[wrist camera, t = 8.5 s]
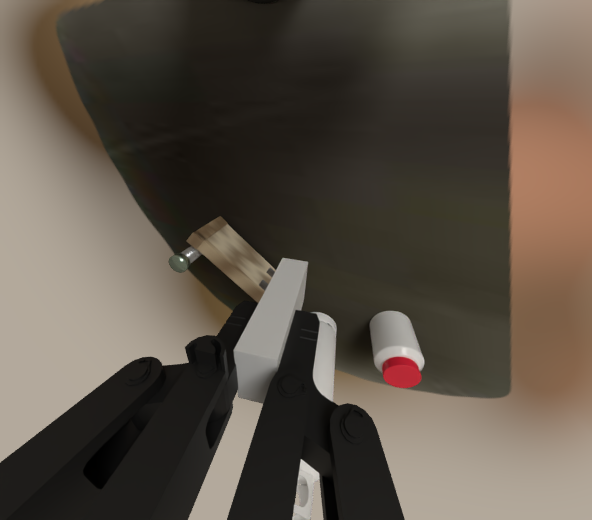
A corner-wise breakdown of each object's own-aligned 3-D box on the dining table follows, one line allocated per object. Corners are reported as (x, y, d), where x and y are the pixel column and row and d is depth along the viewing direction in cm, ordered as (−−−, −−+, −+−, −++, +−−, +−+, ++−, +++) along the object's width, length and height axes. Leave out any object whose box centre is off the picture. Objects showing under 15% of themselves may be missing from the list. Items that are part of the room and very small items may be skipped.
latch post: (210, 221, 41) (162, 251, 30) (228, 224, 40) (186, 255, 30) (212, 239, 43) (168, 273, 32) (230, 242, 42) (191, 277, 31)
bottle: (294, 332, 50) (247, 513, 26) (304, 307, 46) (258, 492, 22) (329, 344, 50) (313, 538, 26) (342, 319, 46) (337, 522, 22)
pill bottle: (412, 338, 44) (430, 392, 35) (372, 340, 47) (378, 392, 37) (409, 308, 41) (428, 359, 32) (366, 312, 44) (372, 360, 34)
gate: (281, 272, 42) (269, 298, 35) (273, 278, 43) (259, 305, 36) (221, 214, 38) (194, 231, 32) (214, 223, 40) (186, 241, 33)
